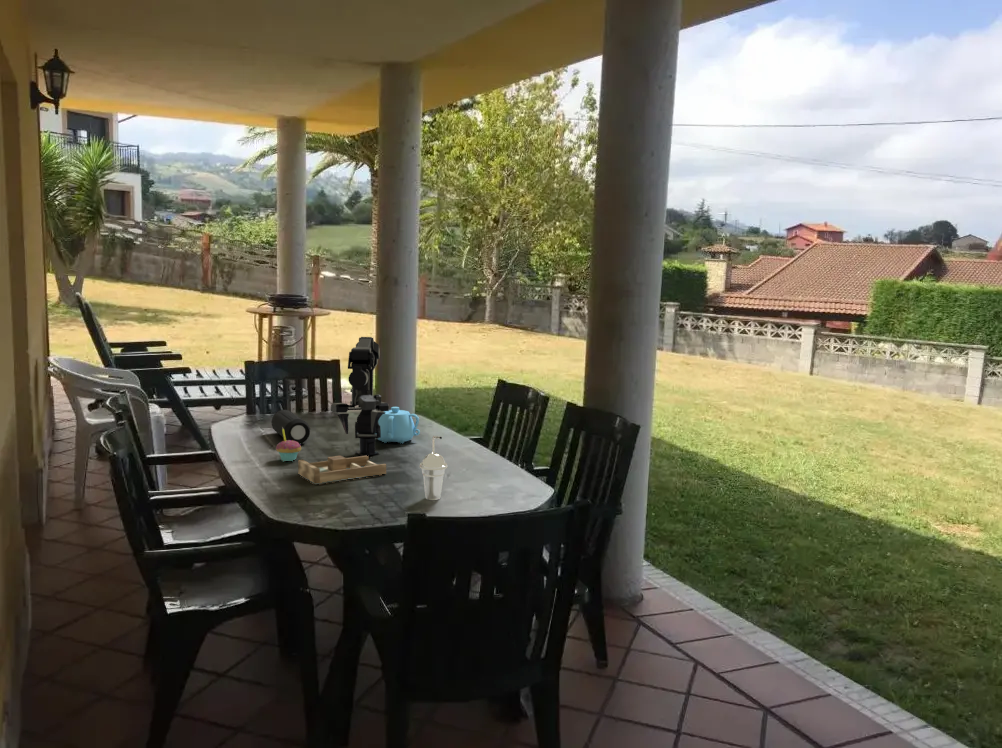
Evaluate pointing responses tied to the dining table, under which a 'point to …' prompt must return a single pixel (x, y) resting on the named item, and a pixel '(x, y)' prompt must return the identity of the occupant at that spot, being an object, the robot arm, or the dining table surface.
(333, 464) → the walnut block
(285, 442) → the cupcake
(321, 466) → the board
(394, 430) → the decorative pot
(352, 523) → the dining table surface
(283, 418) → the portable speaker
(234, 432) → the dining table surface
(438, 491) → the cup with straw
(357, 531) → the dining table surface
